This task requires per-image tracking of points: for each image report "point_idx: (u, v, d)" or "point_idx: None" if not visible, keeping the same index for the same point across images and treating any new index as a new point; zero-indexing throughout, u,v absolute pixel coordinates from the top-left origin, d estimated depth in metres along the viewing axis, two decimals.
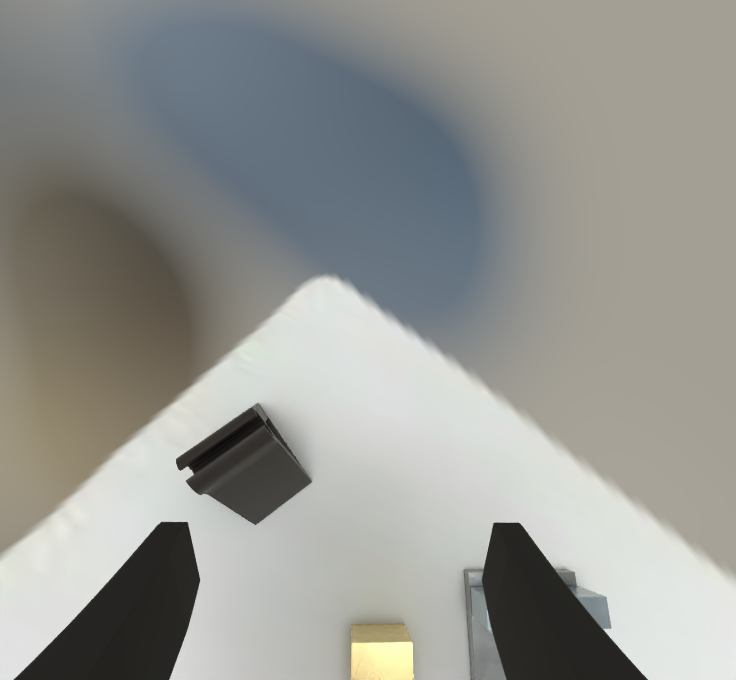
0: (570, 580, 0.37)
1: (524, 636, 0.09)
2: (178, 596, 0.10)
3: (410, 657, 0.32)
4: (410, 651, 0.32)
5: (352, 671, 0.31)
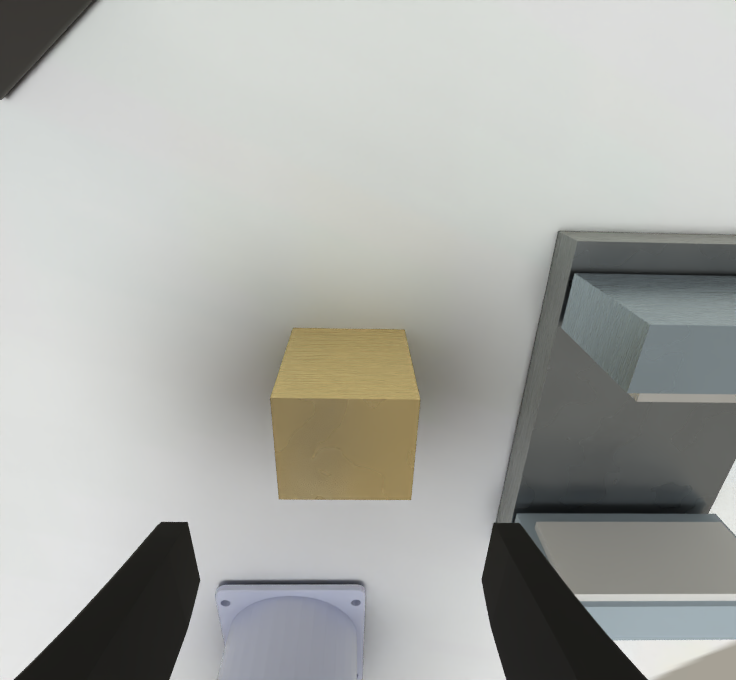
0: None
1: (524, 636, 0.09)
2: (178, 596, 0.10)
3: (412, 424, 0.13)
4: (413, 415, 0.13)
5: (277, 444, 0.14)
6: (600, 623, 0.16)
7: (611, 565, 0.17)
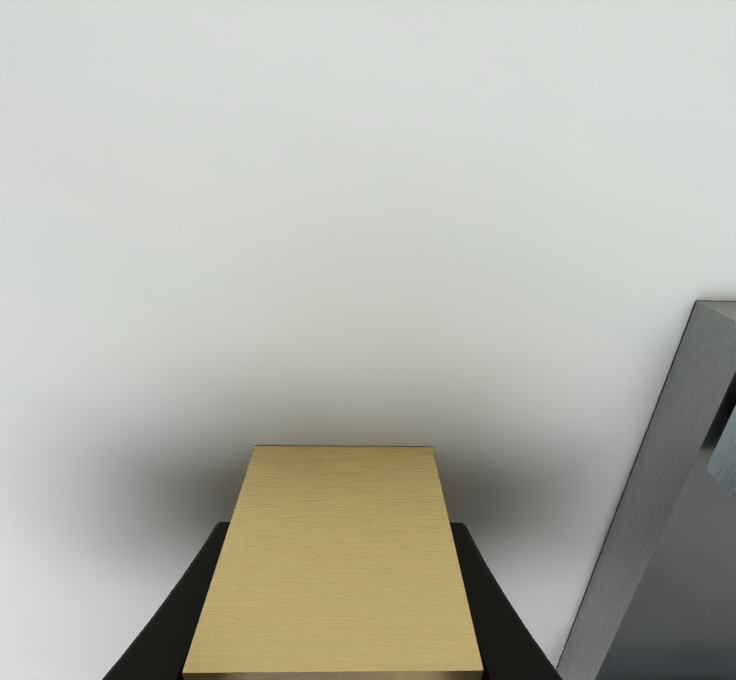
0: None
1: None
2: None
3: None
4: None
5: None
6: None
7: None
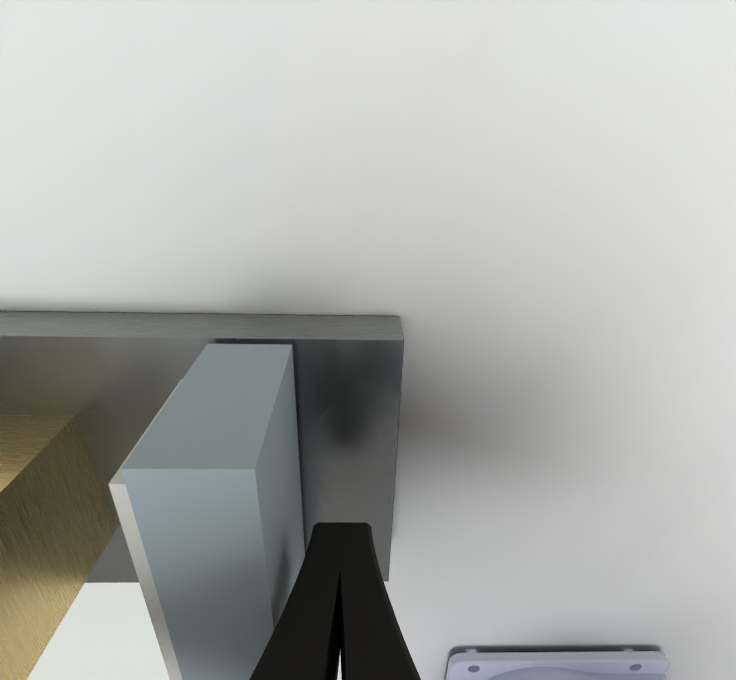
0: None
1: (342, 637, 0.08)
2: None
3: None
4: None
5: None
6: None
7: None
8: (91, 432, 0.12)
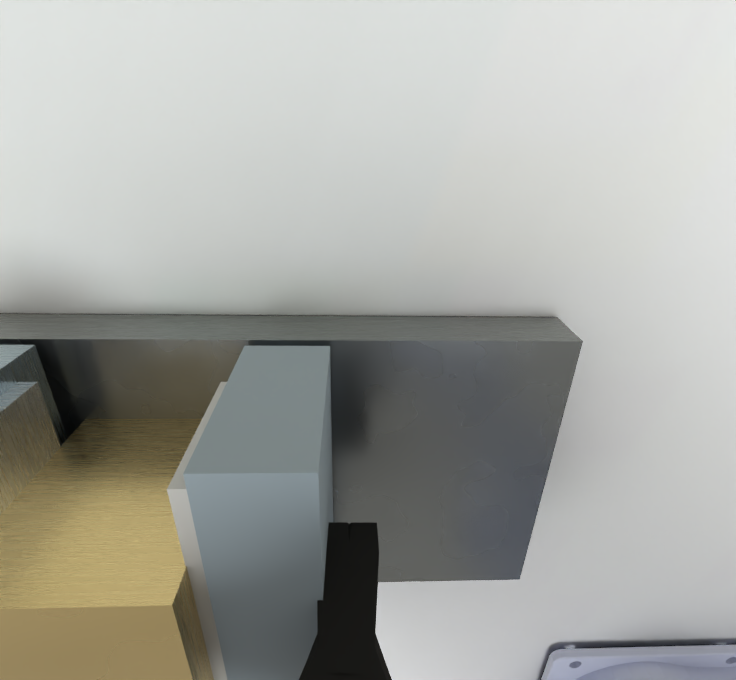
0: None
1: None
2: None
3: None
4: None
5: None
6: None
7: None
8: None
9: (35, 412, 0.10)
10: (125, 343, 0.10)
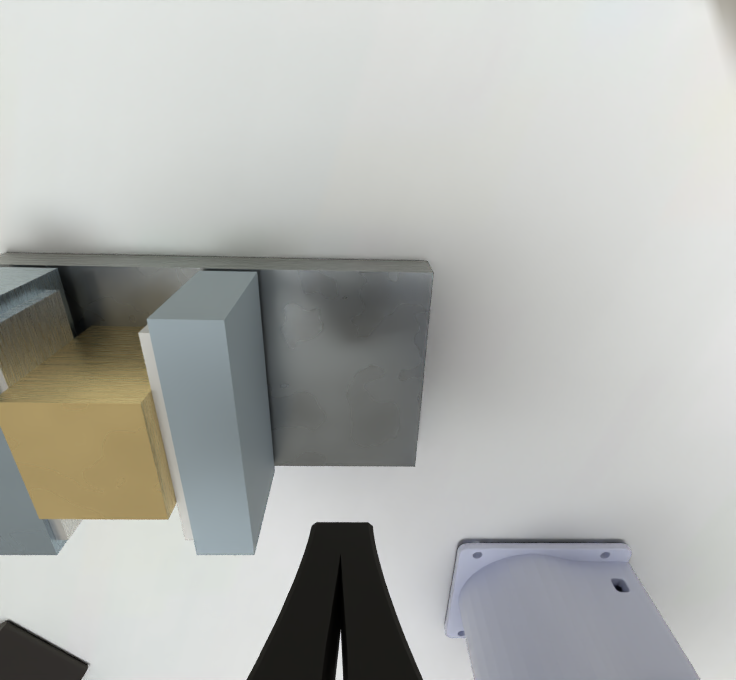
0: None
1: (344, 637, 0.08)
2: (340, 595, 0.10)
3: (27, 407, 0.12)
4: (12, 407, 0.12)
5: (95, 516, 0.14)
6: (217, 516, 0.15)
7: None
8: None
9: (57, 309, 0.15)
10: (118, 269, 0.15)
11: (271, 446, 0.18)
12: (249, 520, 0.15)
